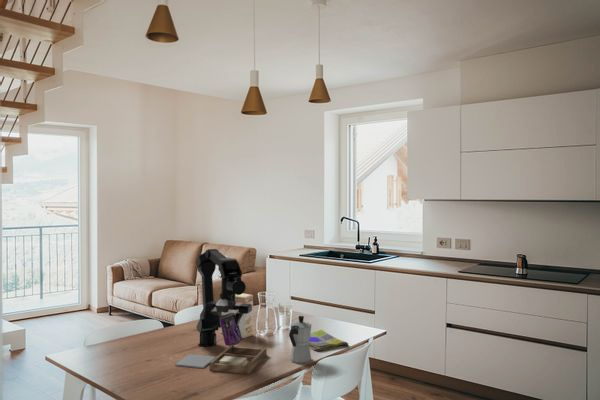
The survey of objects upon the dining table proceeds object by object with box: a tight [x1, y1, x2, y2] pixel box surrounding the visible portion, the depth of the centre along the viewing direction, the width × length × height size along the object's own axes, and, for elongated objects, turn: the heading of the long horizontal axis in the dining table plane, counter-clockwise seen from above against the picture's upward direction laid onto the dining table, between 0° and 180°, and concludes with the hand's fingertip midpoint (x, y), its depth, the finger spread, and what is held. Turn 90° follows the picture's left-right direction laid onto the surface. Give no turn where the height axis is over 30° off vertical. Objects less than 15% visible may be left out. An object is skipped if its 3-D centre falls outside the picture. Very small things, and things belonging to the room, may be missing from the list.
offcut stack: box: [219, 356, 249, 366], centre depth 185 cm, size 11×6×4 cm, turn 78°
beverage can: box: [220, 313, 243, 347], centre depth 194 cm, size 7×7×12 cm
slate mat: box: [174, 353, 217, 369], centre depth 191 cm, size 12×12×1 cm
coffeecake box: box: [220, 292, 254, 339], centre depth 229 cm, size 15×7×20 cm, turn 58°
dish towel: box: [308, 329, 349, 352], centre depth 219 cm, size 18×24×3 cm
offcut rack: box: [209, 345, 268, 375], centre depth 191 cm, size 16×22×3 cm
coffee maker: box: [288, 315, 312, 364], centre depth 193 cm, size 15×9×18 cm, turn 150°
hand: (228, 328), depth 194 cm, fingers closed on beverage can, 6 cm apart
